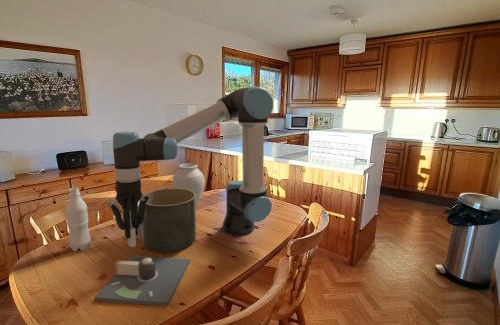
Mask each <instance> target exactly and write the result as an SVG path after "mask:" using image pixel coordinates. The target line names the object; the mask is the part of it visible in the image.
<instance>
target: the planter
mask: <svg viewBox="0 0 500 325" xmlns="http://www.w3.org/2000/svg"><path fill="white" fill-rule="evenodd" d="M143 195H146V196H148V197H149V199H148V201H147V203H146V208H145V213H144V219H143V223H142V229H143V236H142V238H143V245H144V248H145V249H146V250H148V251H149V252H151V253H152V252H153V253H156V254H172V253H176V252H180V251H184V250H186V249H187V248H189V247H190V246H192V245H193V244H194V242H196V238H197V237H196V236H197V235H196V229H197V228H196V226H197V223H196V222H197V221H196V220H197V206H196V194H195V193H194V192H193V191H191V190H188V189H181V188H173V187H168V188H160V189H156V190H150V191H148V192H146V193H144V194H143Z"/></svg>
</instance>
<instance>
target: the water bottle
mask: <svg viewBox="0 0 500 325" xmlns="http://www.w3.org/2000/svg"><path fill="white" fill-rule="evenodd" d="M68 191H69V194H68V196H69V200H68V202H67V203H66V206H65V209H64V210H65V211H64V212H65V217H66V225H67V228H68V232H69V242H68V244H69V247H70V249H71V250H72V251H73V252H78V251H79V250H80V251H86V250H87V249H88V248H89V247H90V246H91V244H92V242H91V241H92V239H91V234H90V231H89V215H88V206H87V204H86V202H85V201H84V200H83V198H81V193H80V188H79V187H71V188H69V190H68Z"/></svg>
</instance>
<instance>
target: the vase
mask: <svg viewBox="0 0 500 325" xmlns="http://www.w3.org/2000/svg"><path fill="white" fill-rule="evenodd" d="M198 166H199V165H198V164H196V163H192V162H190V163H185V162H184V163H180V164H179V165H178V167H179V168H178V170H176V172H175V173H174V174H173V176H172V181H171V182H172V188H181V189H188V190H191V191H193V192H194V193H195V194H196V207H197V205H198V204H199V202H200V200H201V198H202V196H203V193H204V189H205V184H206V182H205V176H204V174H203V172H201V170H200V169H199V168H198Z"/></svg>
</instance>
